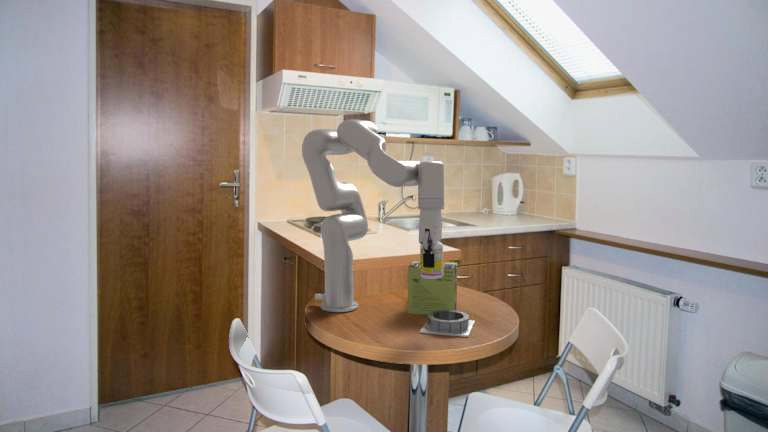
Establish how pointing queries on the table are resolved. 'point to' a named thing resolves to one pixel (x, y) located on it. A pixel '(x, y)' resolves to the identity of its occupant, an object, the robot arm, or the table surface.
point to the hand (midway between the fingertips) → (431, 264)
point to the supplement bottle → (438, 262)
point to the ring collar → (448, 323)
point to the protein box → (432, 290)
